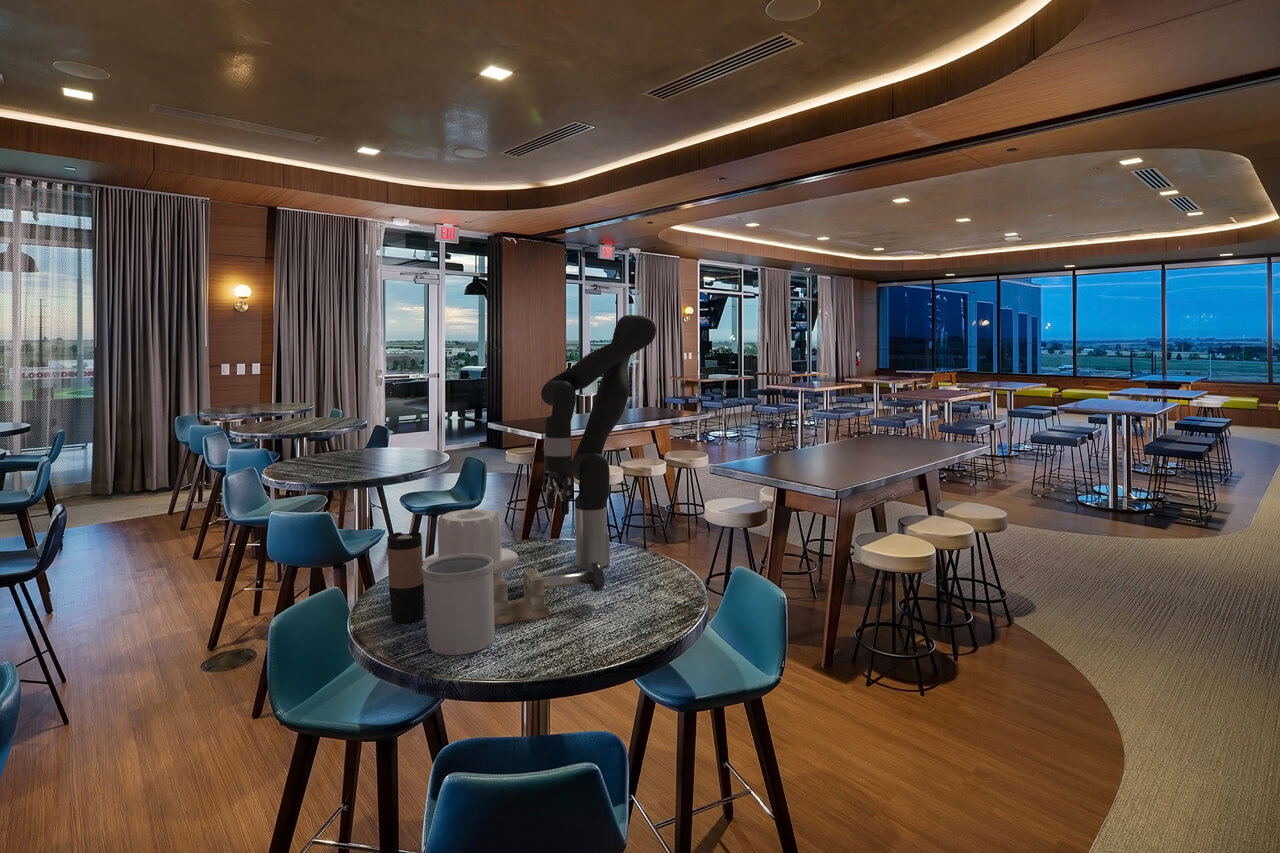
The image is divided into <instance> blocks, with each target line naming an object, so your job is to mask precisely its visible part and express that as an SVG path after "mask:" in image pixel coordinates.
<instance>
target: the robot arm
mask: <svg viewBox="0 0 1280 853" xmlns="http://www.w3.org/2000/svg"><path fill="white" fill-rule="evenodd" d="M656 334H657V327H656V324H655V322H654V320H652V318H650V317H648V316H646V315H635V314H634V315H633V314H628V315H627V314H626V315H623V316H622V317H621V318H619V319H618V321H617V322H616V325H615V328H614V331H613V334H612V335H613V336H612V338H611V339H612V340H611V342H610V343H608V344H606V345H604V346H601V347H599V348H597V349H595V350H593V351H592V352H589V353H587V354H586V355H585V356H584V357H582V358H581V359H580V360H578V361H576V363H574V365H572V366H571V367H570V368H569V369H566V370H565V371H562V372H560V373H559V374H557V375H556V376H554V377H552V378H551V379H549V380H548V381H547V382H546V383H545V384H544V385H543V387H542V389H541V392H540V393H541V394H540V396H541V399H542V401H543V402H544V403H545V404H546V405H548V406H552V409H551V413H550V414H551V415H549V416H547V417H546V419H545V425H544V426H545V429H544V432H545V433H544V434H545V435H544V436H545V437H544V439H545V440H544V446H543V449H544V451H543V455H544V456H543V460H544V461H543V463H544V465H543V468H544V471H543V473H542V476H543V477H542V492H543V493H545V496H546V508H547V509H548V510H553V509H555V508H556V494H557V495H558V496H559V499H560V514H561V515H562V516H565V515H569V513H570V501H571V500H574V521H575V524H574V526H575V527H574V530H575V531H574V532H575V537H574V538H575V566H576V567H577V568H579V569H585V570H588V566H589V564H590V563H595V562H599V563H600V564H601V566H602V568H604V566H605V567H607V565H609V566H610V564H611V562H610V561H611V560H610V556H611V554H610V533H609V532H608V514H607V513H608V505H607V504H608V499H609V495H610V473H611V472H610V466H609V464H610V463H609V462H608V460H607V459H606V457H605V456H603V450H604V448H605V444H606V442H607V439H608V437H609V436H610V434H611V433H612V431H613V430H614V428H615V427H616V426H617V424H618V422H619V421H620V420H621V418H622V415H623V414H624V411H625V409H626V407H627V406H626V405H627V403H628V399H629V395H630V392H631V388H630V387H631V385H630V378H629V376H630V375H629V362H630V359H631V355H633V354H635V353H636V352H639V351H640V350H642V349H644V348H646V347H647V346H649V345H651V343H652V342H653V341H654V339H655V337H656ZM601 376H602V377H601ZM600 377H601V380H600V382H599V384H598V388H597V391H596V394H595V397H594V400H593V403H592V407H591V410H590V413H589V415H588V416H589V417H588V419H587V422H586V426H585V429H584V432H583V435H582V437H581V439H580V440H579V441H580V442H579V444H578V446H577V448H576V450H575V453H574V455H573V454H572V453H573V450H572V449H573V446H572V444H573V443H572V420H573V416H574V412H575V408H576V403H577V393H576V392H577V391H579V390H583V389H585V388H587V387H589V386H590V385H591V384H592V383H594V382H595V381H596V380H597V379H599V378H600ZM572 455H573V457H572ZM569 472H571V474H572V475H573V477H568V473H569ZM574 478H575V479H576V480H577V481H578V483H579V484H578V495H577V496H576V497H575V495H574V494H575V493H574Z"/></svg>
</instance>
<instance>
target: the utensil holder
mask: <svg viewBox="0 0 1280 853" xmlns="http://www.w3.org/2000/svg"><path fill="white" fill-rule="evenodd" d="M493 567H494V561H493V559H492V558H491V557H490V556H487V555H484V554H475V553H463V554H453V555H447V556H443V557H439V558H435V559H432V560H430V561H428V562H426V563H424V564H423V565H422V568H421V569H422V575H423V578H424V610H425V620H426V623H425V624H426V632H427V642H428V643H427V644H428V647H429V650H430V649H431V650H432V651H431V650H430V651H431V652H433V653H435V652H436V653H435V654H439V655H444V656H462V655H468V654H472V653H477V652H479V651H482V650H484V649H486V648H488V647H489V646H490V645H492V644H493V642H494V641H495V625H494V591H493Z"/></svg>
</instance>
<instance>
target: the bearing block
mask: <svg viewBox="0 0 1280 853" xmlns="http://www.w3.org/2000/svg"><path fill="white" fill-rule="evenodd" d="M542 577H543V576H542V575H541V574H540V572H539V571H538V569H537V568H531V569H529V568H528V569H523V594H524V595H523V597H524V598H521V599H514V600H509V599H508V582H507V581H506V579H505V578H504V575H503V574H502V573H495V574H493V591H494V626H496V625H501V624H510V623H517V622H522V621H523V622H524V621H528V620H529V621H530V620H536V619H537V620H538V619H544V618H550V609H549V608H548V607H547V605H546V604H545V590H544V579H543V578H542ZM527 579H529V592H528V591H527V587H526V580H527Z"/></svg>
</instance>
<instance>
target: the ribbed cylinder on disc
mask: <svg viewBox="0 0 1280 853" xmlns="http://www.w3.org/2000/svg"><path fill="white" fill-rule="evenodd" d="M501 522H502V521H501V515H500V513H498V512H497V511H492V510H491V509H478V508H475V509H474V508H473V509H470V508H469V509H461V510H454V511H449V512H446V513H445V514H440V516H439V517H438V520H437V523H436V526H437V528H436V529H437V551H438V552H436V553H434V554H431V555H429V556H427V557H425V558H424V559H423V564H424V563H426V562H428V561H430V560H432V559H435V558H439V557H443V556H447V555H453V554H463V553H475V554H484V555H487V556H490V557H491V558H492V559H493V561H494V567H493V574H495V573H501V574H502V573H504V572H507V571H510V570H511V569H513V568H514V567H516V566H517V565H518V563H519V555H518V554H517V552H515V551H513V550H511V549H508V548H504V547H502V529H501V528H502V524H501Z"/></svg>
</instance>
